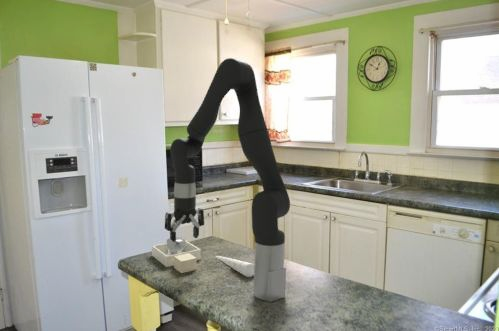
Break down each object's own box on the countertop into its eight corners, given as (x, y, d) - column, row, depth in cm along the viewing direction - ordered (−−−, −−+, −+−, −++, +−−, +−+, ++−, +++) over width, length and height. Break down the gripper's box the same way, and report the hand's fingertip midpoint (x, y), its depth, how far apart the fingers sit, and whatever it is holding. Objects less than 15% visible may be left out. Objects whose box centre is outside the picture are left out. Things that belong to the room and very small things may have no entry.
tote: (200, 260, 149) (200, 249, 149) (166, 268, 141) (166, 256, 141) (184, 250, 161) (184, 239, 160) (152, 257, 153) (151, 245, 152)
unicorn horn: (222, 255, 156) (222, 244, 155) (256, 276, 136) (256, 263, 136) (212, 257, 153) (212, 246, 153) (245, 279, 134) (245, 265, 133)
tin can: (188, 258, 150) (188, 240, 149) (171, 262, 146) (171, 244, 145) (180, 253, 156) (180, 236, 155) (164, 256, 152) (163, 239, 151)
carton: (196, 271, 139) (196, 258, 139) (181, 275, 136) (181, 261, 135) (188, 266, 144) (188, 253, 144) (174, 269, 141) (173, 256, 140)
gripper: (170, 199, 130) (170, 245, 132) (207, 194, 138) (207, 239, 140) (161, 195, 136) (161, 239, 138) (198, 191, 144) (197, 233, 146)
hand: (184, 239), depth 139 cm, fingers open, 8 cm apart
